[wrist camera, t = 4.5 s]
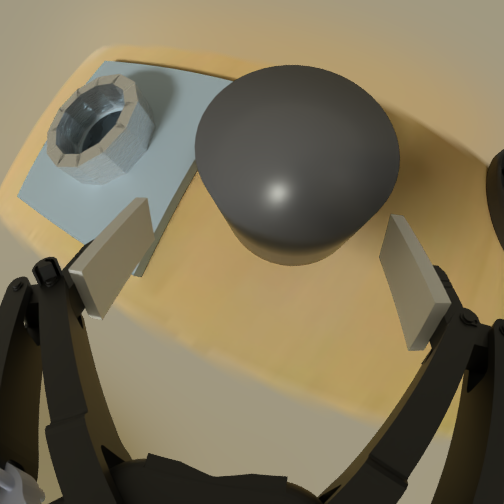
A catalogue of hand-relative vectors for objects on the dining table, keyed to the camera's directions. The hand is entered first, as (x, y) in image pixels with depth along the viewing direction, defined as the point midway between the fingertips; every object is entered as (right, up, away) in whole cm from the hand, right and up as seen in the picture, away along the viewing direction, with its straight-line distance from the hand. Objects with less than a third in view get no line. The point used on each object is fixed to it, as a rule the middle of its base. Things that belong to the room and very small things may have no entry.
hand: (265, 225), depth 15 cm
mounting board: (-15, +10, +11) cm, 21 cm away
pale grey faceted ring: (-15, +10, +10) cm, 20 cm away
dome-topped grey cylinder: (+2, +2, +8) cm, 9 cm away
